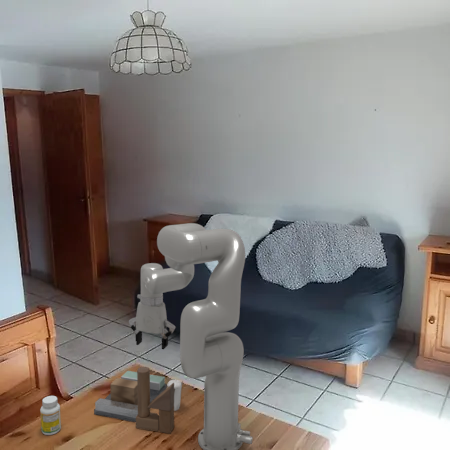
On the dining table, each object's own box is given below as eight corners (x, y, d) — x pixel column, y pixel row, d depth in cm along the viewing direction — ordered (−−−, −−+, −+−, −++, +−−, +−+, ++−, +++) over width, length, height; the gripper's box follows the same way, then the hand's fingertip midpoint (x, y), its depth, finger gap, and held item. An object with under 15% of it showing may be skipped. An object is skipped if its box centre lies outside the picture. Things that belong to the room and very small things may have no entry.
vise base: (166, 387, 157) (166, 376, 156) (138, 423, 137) (138, 410, 136) (126, 380, 161) (126, 370, 160) (94, 414, 141) (93, 402, 140)
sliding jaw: (164, 383, 156) (164, 376, 156) (159, 390, 152) (159, 383, 151) (127, 377, 160) (127, 370, 160) (121, 383, 156) (120, 377, 155)
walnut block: (140, 402, 145) (139, 381, 144) (134, 409, 141) (134, 388, 140) (117, 398, 147) (116, 377, 146) (110, 404, 143) (110, 384, 142)
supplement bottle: (56, 436, 130) (55, 405, 128) (38, 435, 130) (36, 404, 129) (64, 424, 135) (62, 394, 134) (46, 423, 136) (44, 393, 134)
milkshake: (178, 414, 142) (178, 384, 140) (164, 409, 144) (164, 379, 142) (186, 407, 145) (186, 378, 144) (173, 402, 148) (173, 373, 146)
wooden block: (170, 434, 132) (170, 376, 129) (135, 428, 134) (134, 371, 131) (174, 426, 136) (174, 369, 132) (140, 421, 138) (139, 365, 135)
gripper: (123, 299, 157) (124, 346, 161) (170, 306, 153) (170, 354, 156) (134, 292, 164) (134, 337, 168) (179, 299, 160) (178, 344, 163)
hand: (151, 345), depth 162 cm, fingers open, 9 cm apart
